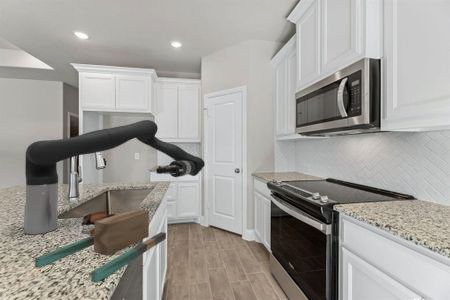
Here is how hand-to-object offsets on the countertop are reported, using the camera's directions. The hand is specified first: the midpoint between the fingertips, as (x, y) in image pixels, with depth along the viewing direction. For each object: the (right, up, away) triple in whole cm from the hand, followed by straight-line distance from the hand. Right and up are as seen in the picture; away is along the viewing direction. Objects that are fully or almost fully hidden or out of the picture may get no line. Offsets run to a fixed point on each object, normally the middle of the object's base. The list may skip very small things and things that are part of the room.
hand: (158, 171), depth 89 cm
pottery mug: (-20, -22, -6) cm, 30 cm away
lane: (-8, -22, -23) cm, 32 cm away
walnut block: (-6, -22, -17) cm, 29 cm away
